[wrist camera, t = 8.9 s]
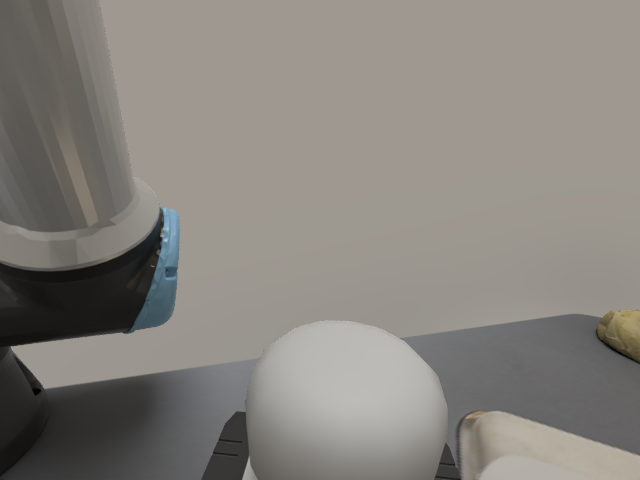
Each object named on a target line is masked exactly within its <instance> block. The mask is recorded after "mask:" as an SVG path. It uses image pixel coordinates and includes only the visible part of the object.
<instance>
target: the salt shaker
mask: <svg viewBox="0 0 640 480" xmlns="http://www.w3.org/2000/svg"><path fill="white" fill-rule="evenodd" d="M245 406H246V425H247V435H248V445H249V455H250V465H251V467H252V470H253V472H254V474H255V476H256V477H257V478H258V480H434V479H435V475H436V472H437V469H438V466H439V462H440V459H441V456H442V452H443V449H444V445H445V442H446V439H447V435H448V419H447V404H446V401H445V397H444V394H443V391H442V388H441V385H440V381H439V378H438V375H437V374H436V373H435V372H434V371H433V370H432V369H431V368H430V367H429V366H428V365H427V364H426V363H425V361H424V360H423V359H422V358H421V357H420V356H419V355H418V354H417V353H416V352H415V351H414V350H413V349H412V348H411V347H410V346H409V345H408V344H407V343H406V342H404V341H403V340H401V339H399V338H397V337H395V336H393V335H391V334H389V333H388V332H386V331H384V330H382V329H380V328H377V327H373V326H369V325H365V324H360V323H357V322H353V321H323V320H322V321H319V322H315V323H311V324H307V325H303V326H299V327H296V328H295V329H293V330H292V331H290V332H289V333H287V334H286V335H284V336H283V337H281V338H280V339H278V340H277V341H275V342H274V343H273V344H271V345H270V346H268V347H267V348H266V349H264V350H263V353H262V354H261V356H260V358H259V360H258V362H257V364H256V366H255V368H254V371H253V373H252V375H251V377H250V382H249V387H248V391H247V396H246V400H245Z"/></svg>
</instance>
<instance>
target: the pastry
mask: <svg viewBox="0 0 640 480" xmlns="http://www.w3.org/2000/svg"><path fill="white" fill-rule="evenodd" d="M597 333H598V337H599V338H600V339H601V340H603V341H604V342H605V343H606V344H608V345H610V346H611V347H613V348H614V349H616V350H617V351H618V352H621V353H623V354H625V355H627V356H628V357H630V358H632V359H634V361H636V362H638V363H640V311H639V310H632V311H628V310H620V311H619V312H614V311H610V312H609V313H607V314H606V315H605V316H604V317H603V318H602V320H601V321H600V323H599V324H598V328H597Z"/></svg>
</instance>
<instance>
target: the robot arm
mask: <svg viewBox="0 0 640 480" xmlns="http://www.w3.org/2000/svg"><path fill="white" fill-rule="evenodd" d="M178 259H179V216H178V214H177V212H176V211H174V210H172V209H167V208H165V207H159V203H158V200H157V197H156V195H155V193H154V191H153V190H152V189H151V188H150V187H149V186H148V185H147V184H146V183H145V182H143V181H142V180H140V179H138V178H137V177H135V176H133V174H132V169H131V164H130V159H129V154H128V148H127V143H126V138H125V132H124V127H123V122H122V117H121V112H120V107H119V101H118V96H117V91H116V86H115V80H114V75H113V70H112V65H111V59H110V54H109V49H108V44H107V39H106V34H105V28H104V23H103V18H102V13H101V7H100V2H99V0H0V474H2V473H3V472H4V471H5V470H7V469H8V468H9V467H10V466H11V465H12V464H14V463H15V462H16V461H17V460H18V459H19V458H20V457H21V456H22V455H23V454H24V453H25V452H26V451H27V450H28V449H29V448H30V447H31V445H32V444H33V443H34V442H35V440H36V439H37V438H38V436H39V435H40V433H41V432H42V430H43V428H44V426H45V424H46V422H47V418H48V412H49V410H48V403H47V399H46V394H45V390H44V388H43V386H42V385H41V383H40V382H39V381H38V380H37V379H36V377H35V376H34V375H33V374H32V373H31V372H30V370H29V369H28V368H27V367H26V366H25V365H24V364H23V362H22V361H21V360H20V359H19V358H18V357H17V355H16V354H15V353H14V352H13V351H12V349H11V346H17V345H24V344H32V343H41V342H48V341H56V340H64V339H71V338H80V337H88V336H95V335H105V334H114V333H122V332H123V333H124V334H125V333H126V334H128V333H132V332H134V331H135V330H140V329H145V328H151V327H157V326H160V325H162V324H164V323H165V322H167V321H168V320H169V319H170V317H171V316H172V313H173V310H174V306H175V299H176V289H177V269H178ZM202 480H258V478H257V477H256V476H255V474H254V472H253V470H252V467H251V465H250V455H249V445H248V435H247V425H246V412H238V411H237V412H236V413H235V414H234V415H233V416H232V417H231V418H230V419H229V420H228V421H227V422H226V423H225V425H224V428H223V430H222V432H221V435H220V437H219V440H218V442H217V444H216V447H215V449H214V451H213V455H212V456H211V458H210V461H209V463H208V465H207V468H206V470H205V473H204V475H203V477H202ZM434 480H461V478H460V476H459V473H458V470H457V468H456V467H455V462H454V459H453V457H452V454H451V451H450V448H449V446H448V445H447V444H446V443H445V445H444V449H443V452H442V456H441V459H440V462H439V466H438V469H437V472H436V475H435V479H434Z"/></svg>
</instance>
